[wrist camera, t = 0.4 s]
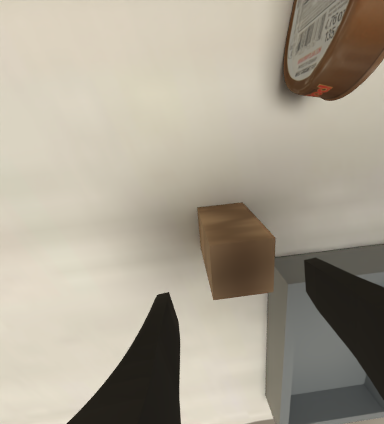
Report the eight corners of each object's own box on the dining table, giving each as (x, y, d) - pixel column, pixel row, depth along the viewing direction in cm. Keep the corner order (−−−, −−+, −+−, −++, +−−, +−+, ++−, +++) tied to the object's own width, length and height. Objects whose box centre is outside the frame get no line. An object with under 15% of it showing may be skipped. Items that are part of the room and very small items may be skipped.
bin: (397, 242, 23) (439, 264, 20) (364, 380, 30) (391, 415, 27) (269, 258, 23) (288, 284, 19) (265, 395, 30) (278, 433, 26)
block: (242, 202, 21) (275, 237, 14) (243, 242, 22) (273, 292, 16) (197, 207, 21) (209, 245, 14) (200, 248, 22) (213, 300, 15)
